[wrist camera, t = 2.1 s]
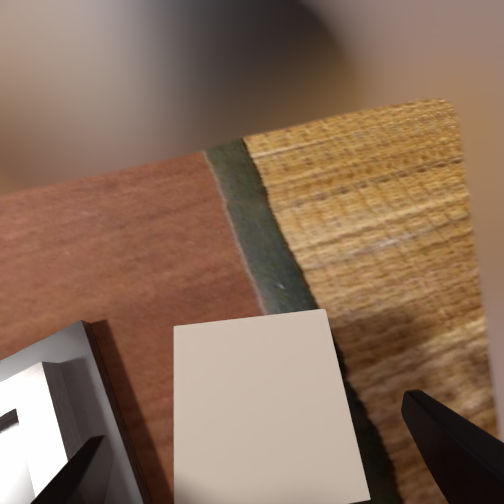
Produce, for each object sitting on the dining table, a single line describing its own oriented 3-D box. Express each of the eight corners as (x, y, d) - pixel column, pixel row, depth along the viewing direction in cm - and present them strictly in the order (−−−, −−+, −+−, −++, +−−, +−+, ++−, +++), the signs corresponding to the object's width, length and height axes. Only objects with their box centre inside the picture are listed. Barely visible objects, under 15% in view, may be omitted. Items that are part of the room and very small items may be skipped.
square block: (301, 436, 15) (370, 499, 7) (211, 450, 15) (174, 535, 7) (285, 342, 17) (325, 308, 9) (206, 352, 17) (173, 326, 9)
